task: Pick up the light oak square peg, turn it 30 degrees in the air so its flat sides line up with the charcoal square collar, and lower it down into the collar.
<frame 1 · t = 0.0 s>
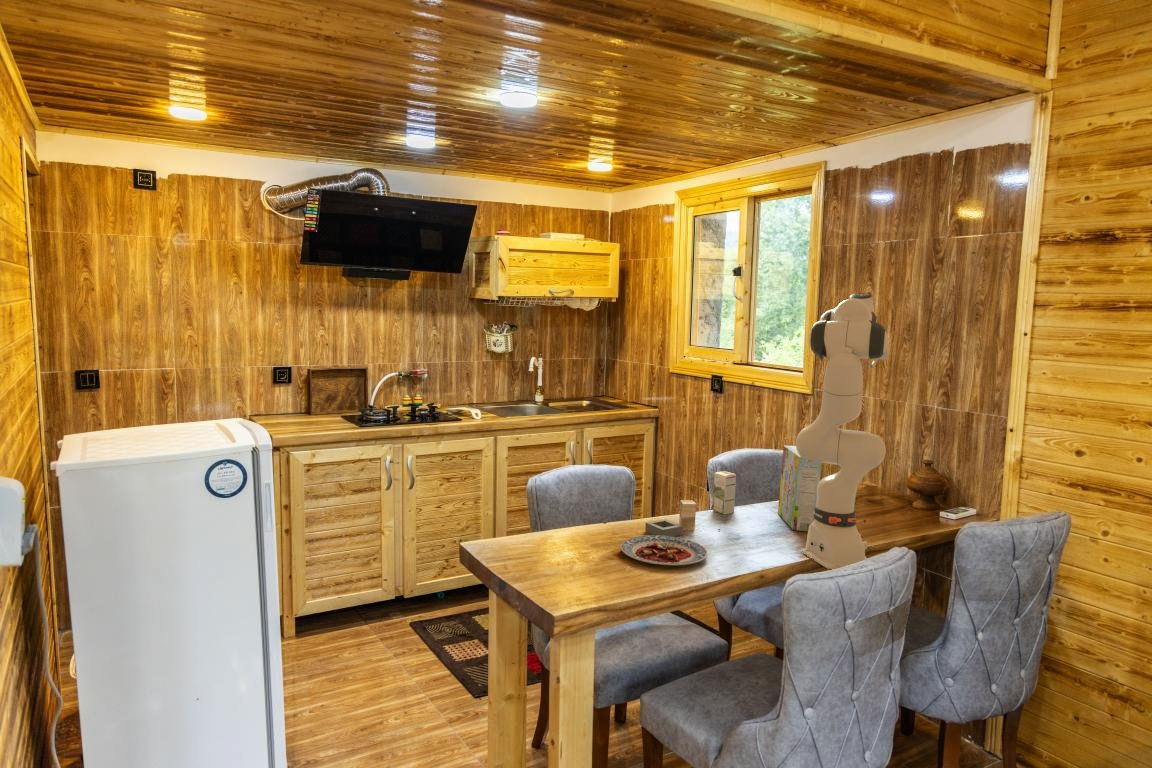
hand: (858, 366, 273), 54 cm above the table, tool tilted 30°, fingers open, 8 cm apart
ceramic plate: (663, 556, 222), on the table
oak peg: (686, 528, 250), on the table
syrup box: (723, 512, 271), on the table
square collar: (663, 533, 243), on the table
snack box: (796, 523, 261), on the table
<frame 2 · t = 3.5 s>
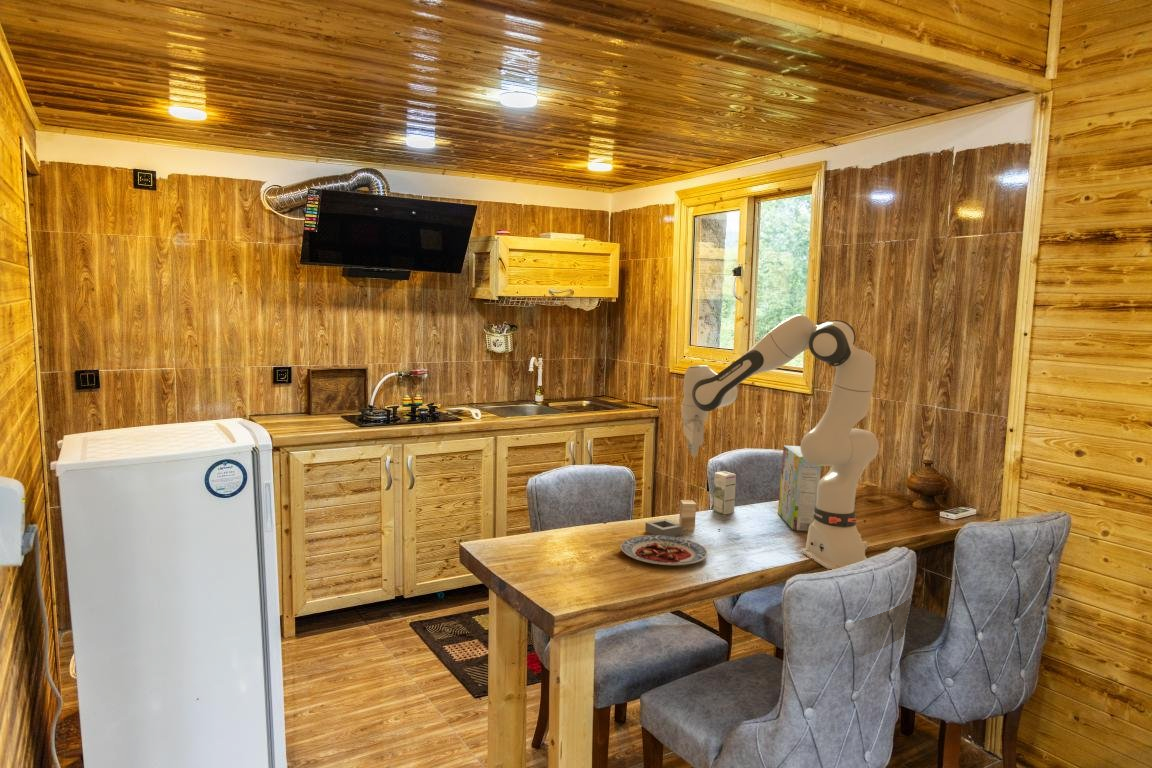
hand: (691, 453, 250), 25 cm above the table, tool pointing down, fingers open, 8 cm apart
nothing on the table moved.
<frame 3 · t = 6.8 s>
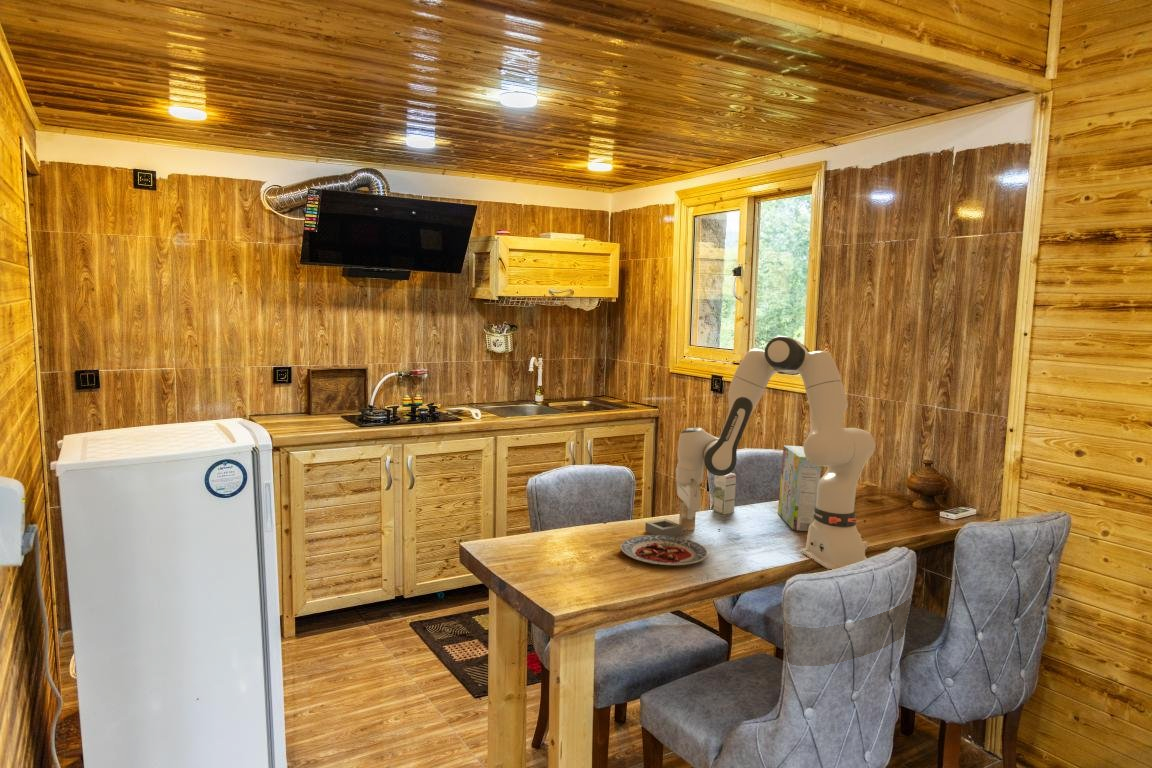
hand: (687, 516, 249), 4 cm above the table, tool pointing down, fingers closed on oak peg, 4 cm apart
oak peg: (686, 527, 250), on the table, touching gripper
everything else where it was.
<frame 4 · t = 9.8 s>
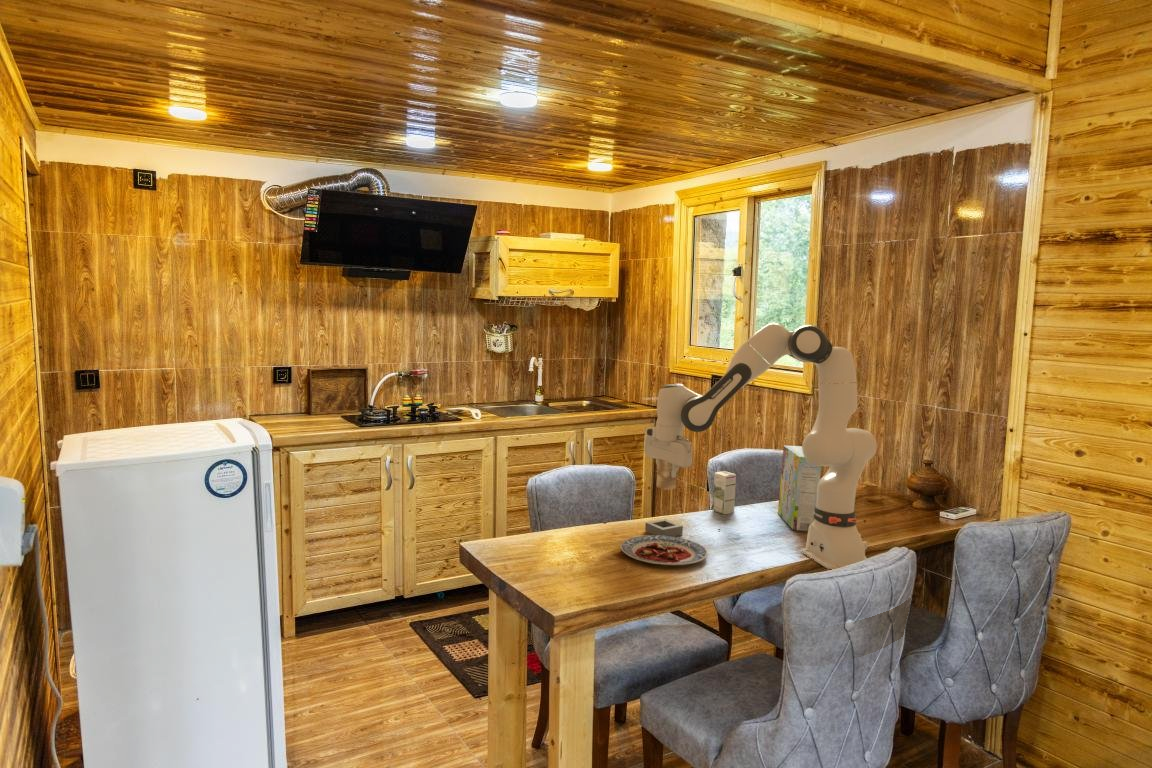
hand: (666, 475, 241), 19 cm above the table, tool pointing down, fingers closed on oak peg, 4 cm apart
oak peg: (666, 487, 242), point 15 cm above the table, touching gripper
everything else where it was.
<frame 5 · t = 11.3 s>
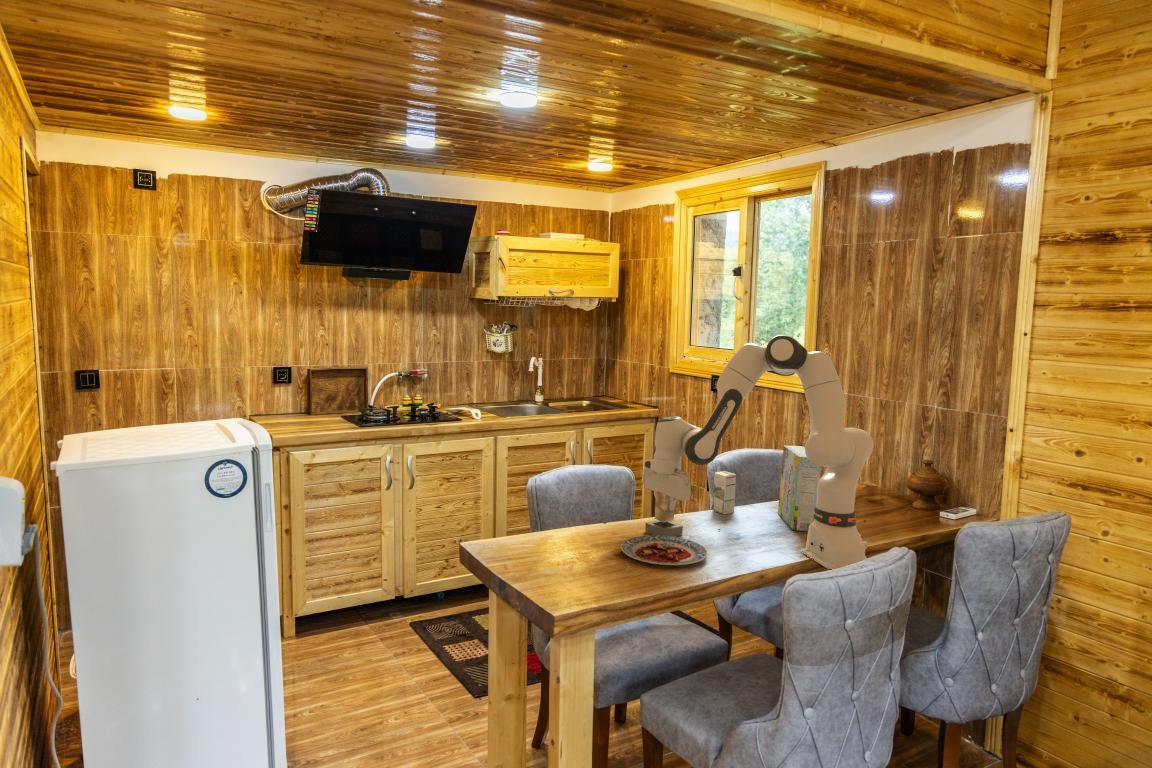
hand: (665, 507, 242), 9 cm above the table, tool pointing down, fingers closed on oak peg, 4 cm apart
oak peg: (664, 519, 243), point 5 cm above the table, touching gripper
everything else where it was.
when the fingers open (5 cm above the table, at t = 12.7 s): oak peg drops 1 cm, resting in square collar.
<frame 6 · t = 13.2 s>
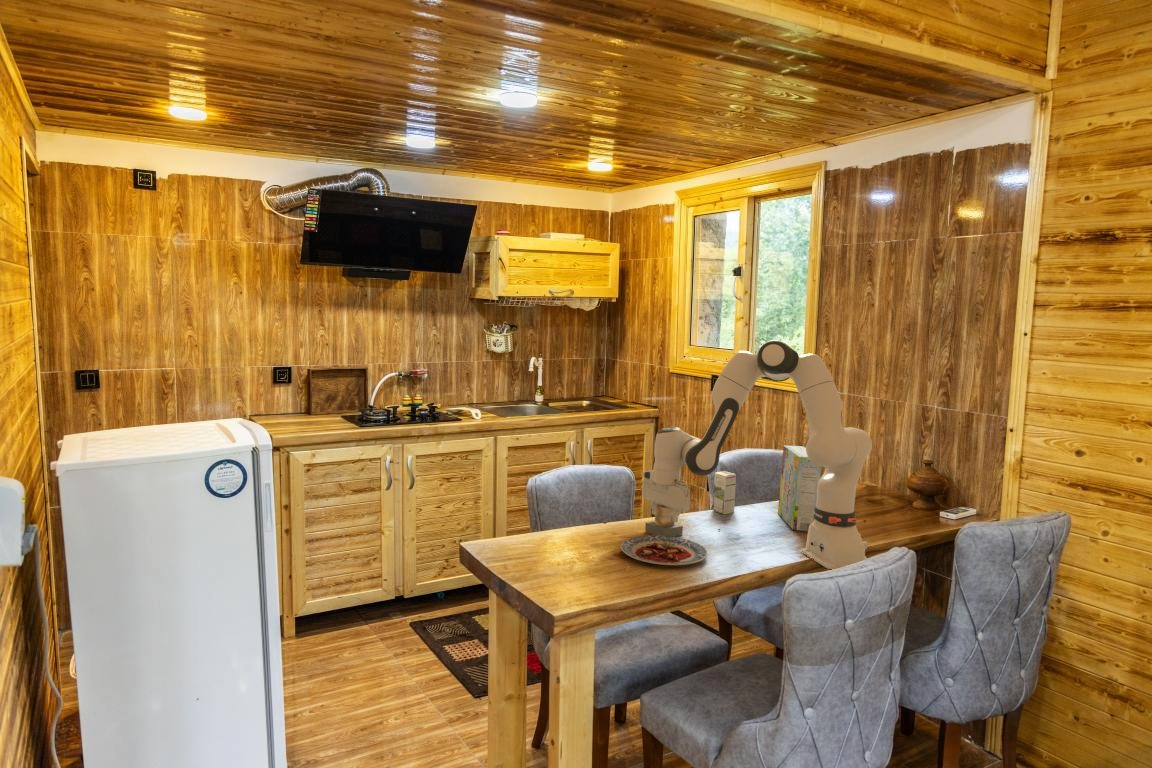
hand: (664, 518, 243), 5 cm above the table, tool pointing down, fingers open, 8 cm apart
oak peg: (663, 533, 243), resting in square collar
everything else where it was.
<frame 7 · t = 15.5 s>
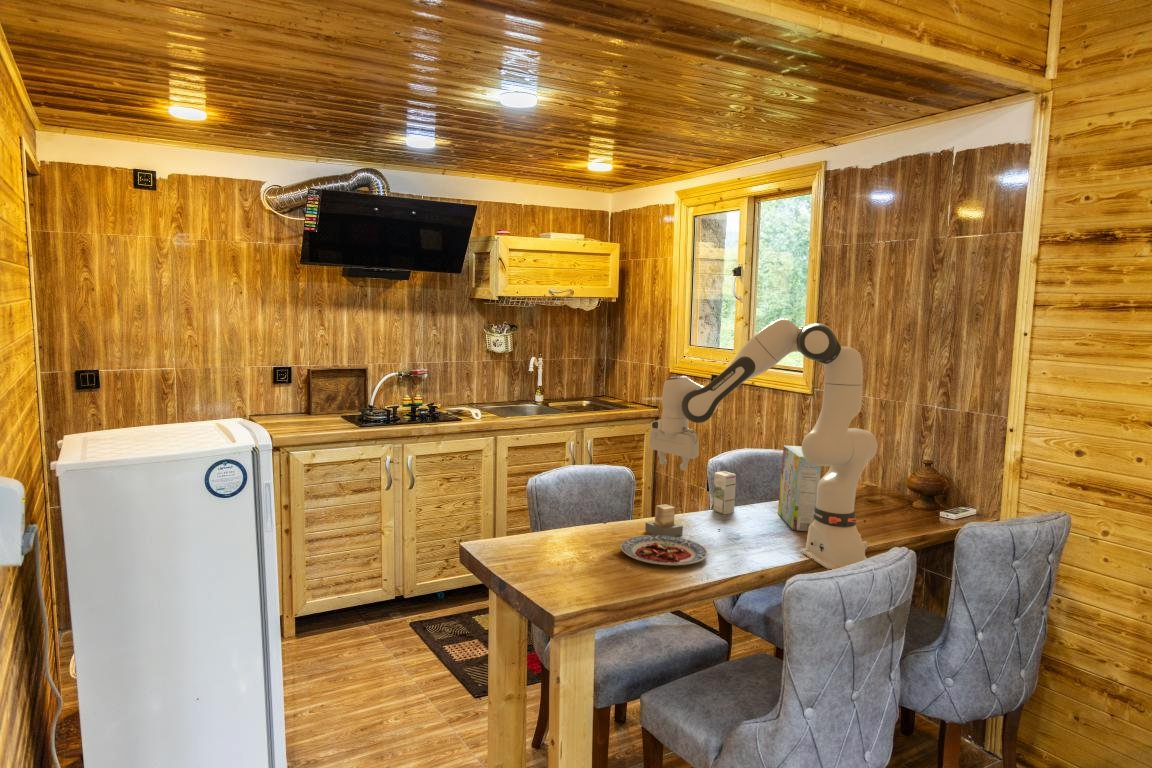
hand: (673, 467, 242), 22 cm above the table, tool pointing down, fingers open, 8 cm apart
nothing on the table moved.
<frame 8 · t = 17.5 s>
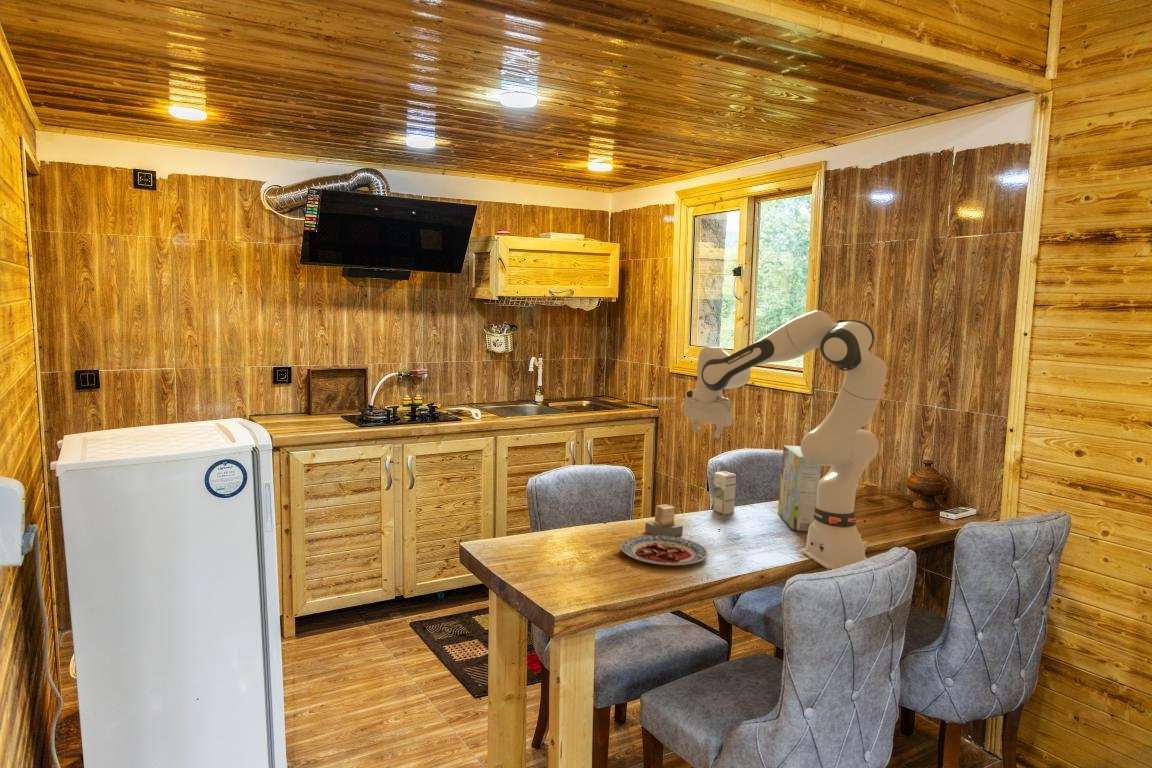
hand: (706, 435, 251), 31 cm above the table, tool pointing down, fingers open, 8 cm apart
nothing on the table moved.
at the end: oak peg 0.1 cm from the square collar (horizontally); oak peg resting in square collar; oak peg tilted 0° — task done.
